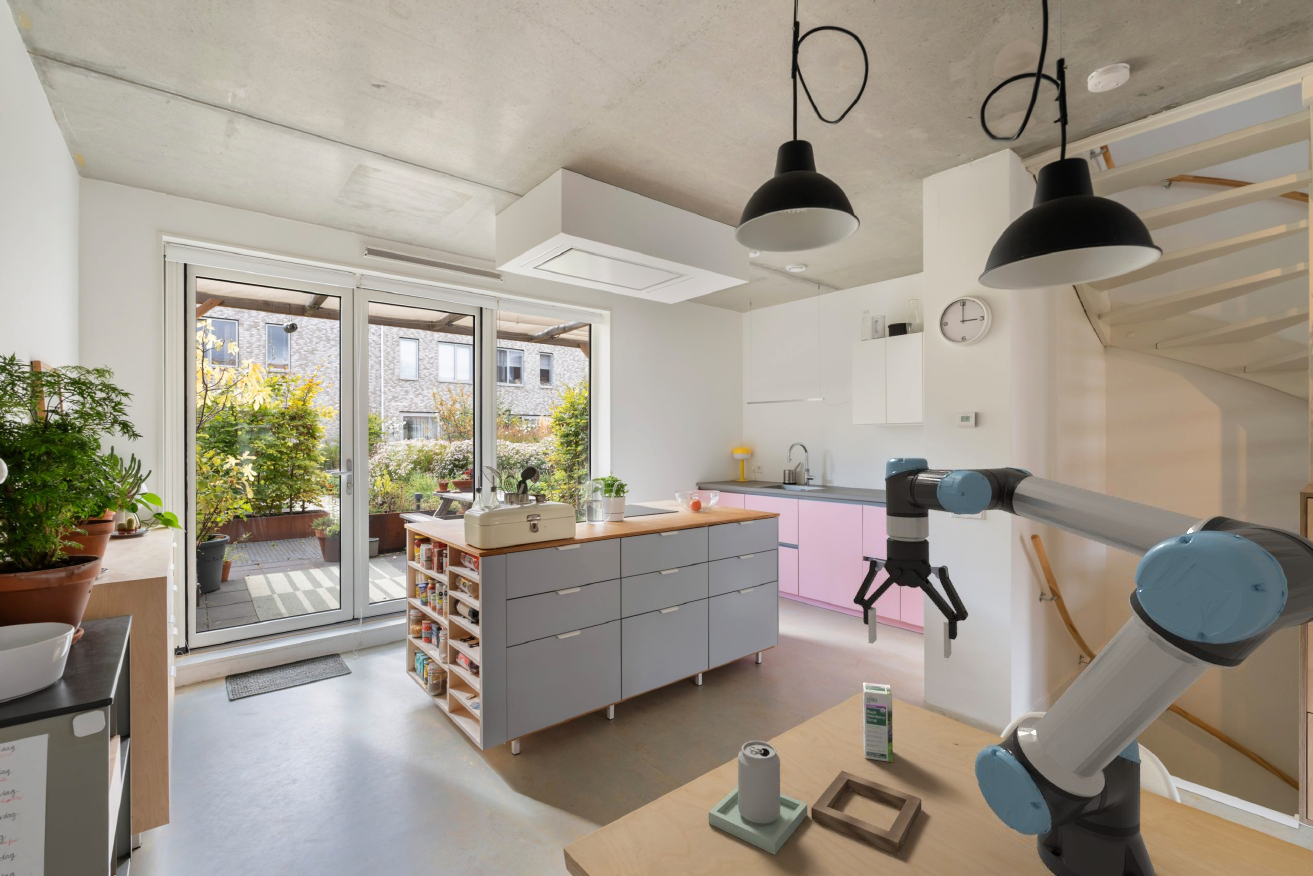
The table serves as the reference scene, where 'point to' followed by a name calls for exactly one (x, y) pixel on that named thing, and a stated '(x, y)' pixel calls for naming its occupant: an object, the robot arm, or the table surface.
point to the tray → (759, 835)
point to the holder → (859, 828)
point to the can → (759, 782)
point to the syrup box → (877, 722)
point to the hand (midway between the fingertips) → (908, 648)
